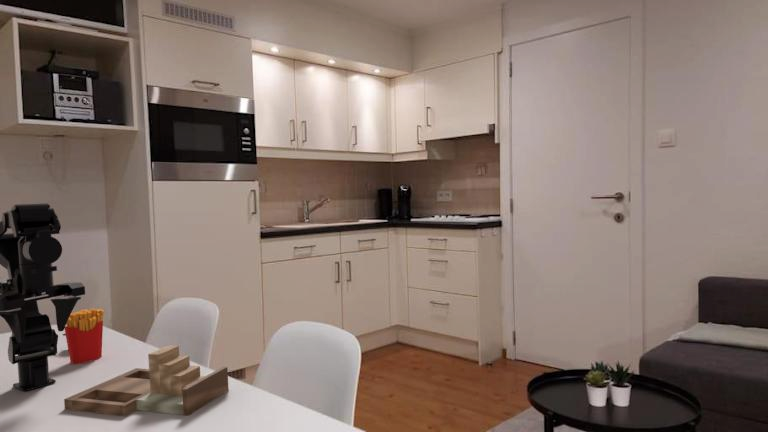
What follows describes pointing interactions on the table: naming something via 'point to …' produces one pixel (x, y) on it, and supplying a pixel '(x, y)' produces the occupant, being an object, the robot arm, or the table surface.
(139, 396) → the brown wooden flat frame
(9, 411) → the table surface
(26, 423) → the table surface
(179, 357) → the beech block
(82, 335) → the french fries
